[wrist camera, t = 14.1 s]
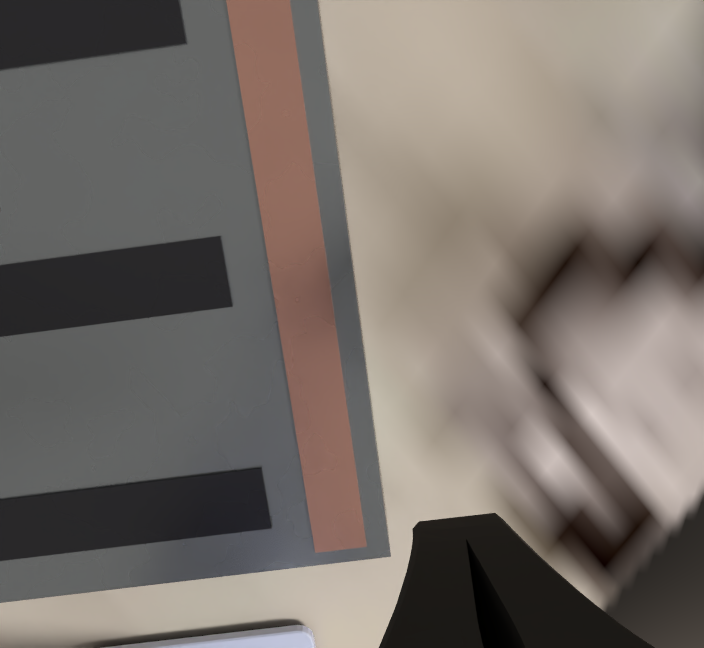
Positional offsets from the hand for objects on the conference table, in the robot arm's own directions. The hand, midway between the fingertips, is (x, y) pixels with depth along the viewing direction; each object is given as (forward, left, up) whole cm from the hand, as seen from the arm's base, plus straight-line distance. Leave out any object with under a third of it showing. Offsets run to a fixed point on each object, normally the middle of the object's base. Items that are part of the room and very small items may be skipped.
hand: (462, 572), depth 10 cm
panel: (+4, +13, -10) cm, 17 cm away
